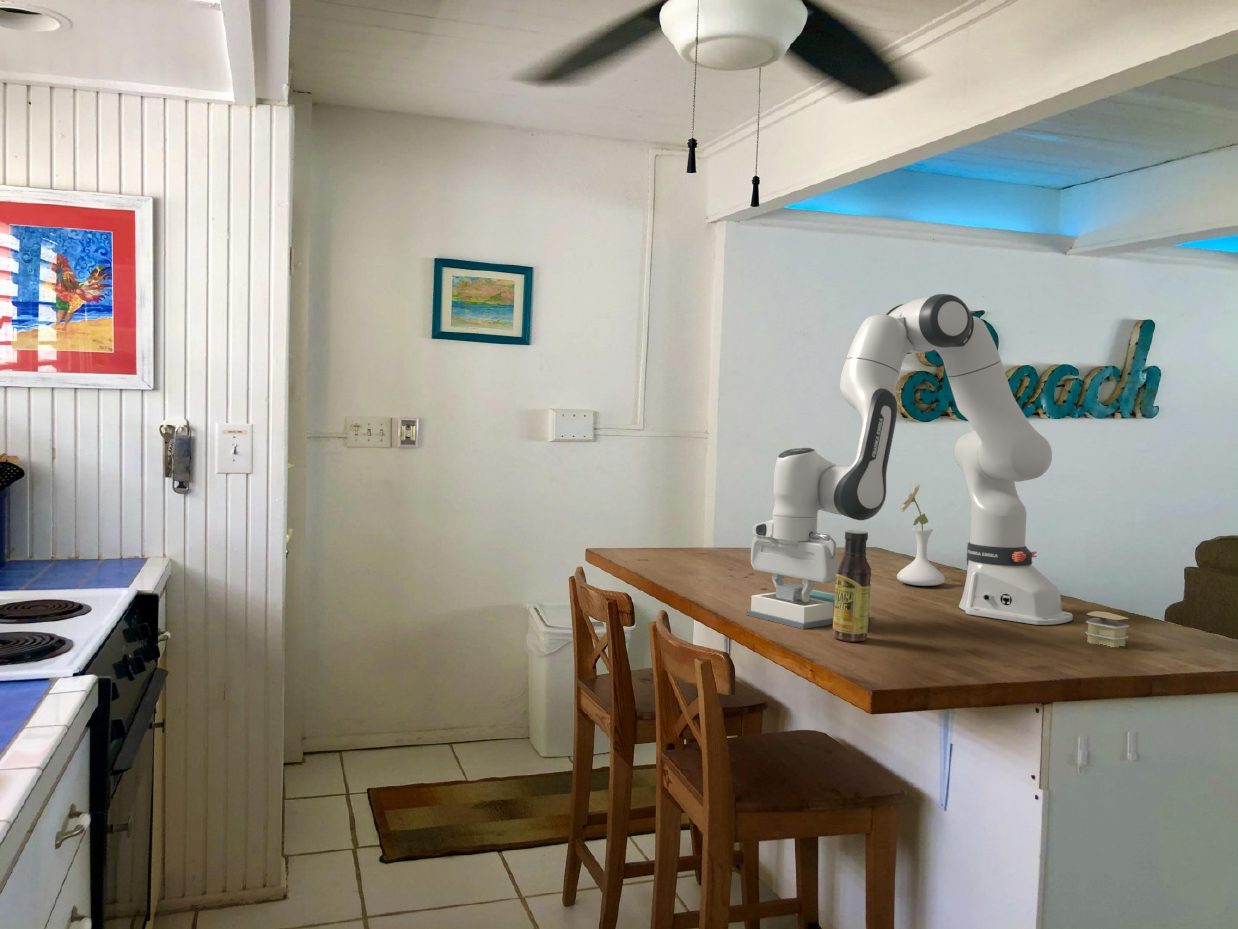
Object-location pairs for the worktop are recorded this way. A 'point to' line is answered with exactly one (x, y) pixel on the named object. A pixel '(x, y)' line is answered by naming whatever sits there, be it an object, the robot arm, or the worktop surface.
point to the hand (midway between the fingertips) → (792, 599)
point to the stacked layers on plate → (1106, 629)
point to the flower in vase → (920, 553)
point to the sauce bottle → (852, 590)
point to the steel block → (789, 593)
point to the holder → (794, 610)
